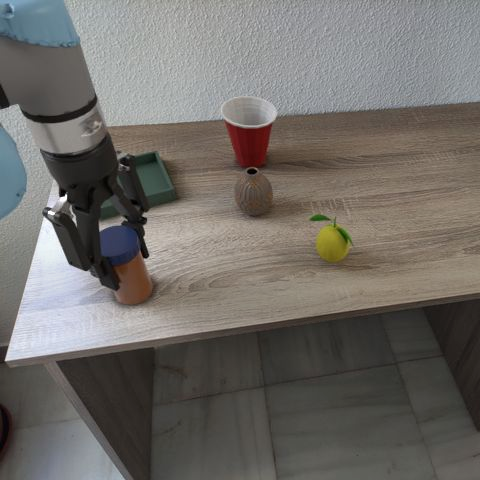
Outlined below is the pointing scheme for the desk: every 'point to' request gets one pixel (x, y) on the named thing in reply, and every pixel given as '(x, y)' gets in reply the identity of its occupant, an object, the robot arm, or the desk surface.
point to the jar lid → (119, 244)
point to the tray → (147, 183)
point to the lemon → (332, 240)
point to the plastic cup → (249, 128)
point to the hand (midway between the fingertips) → (126, 269)
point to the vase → (253, 192)
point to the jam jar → (133, 281)
